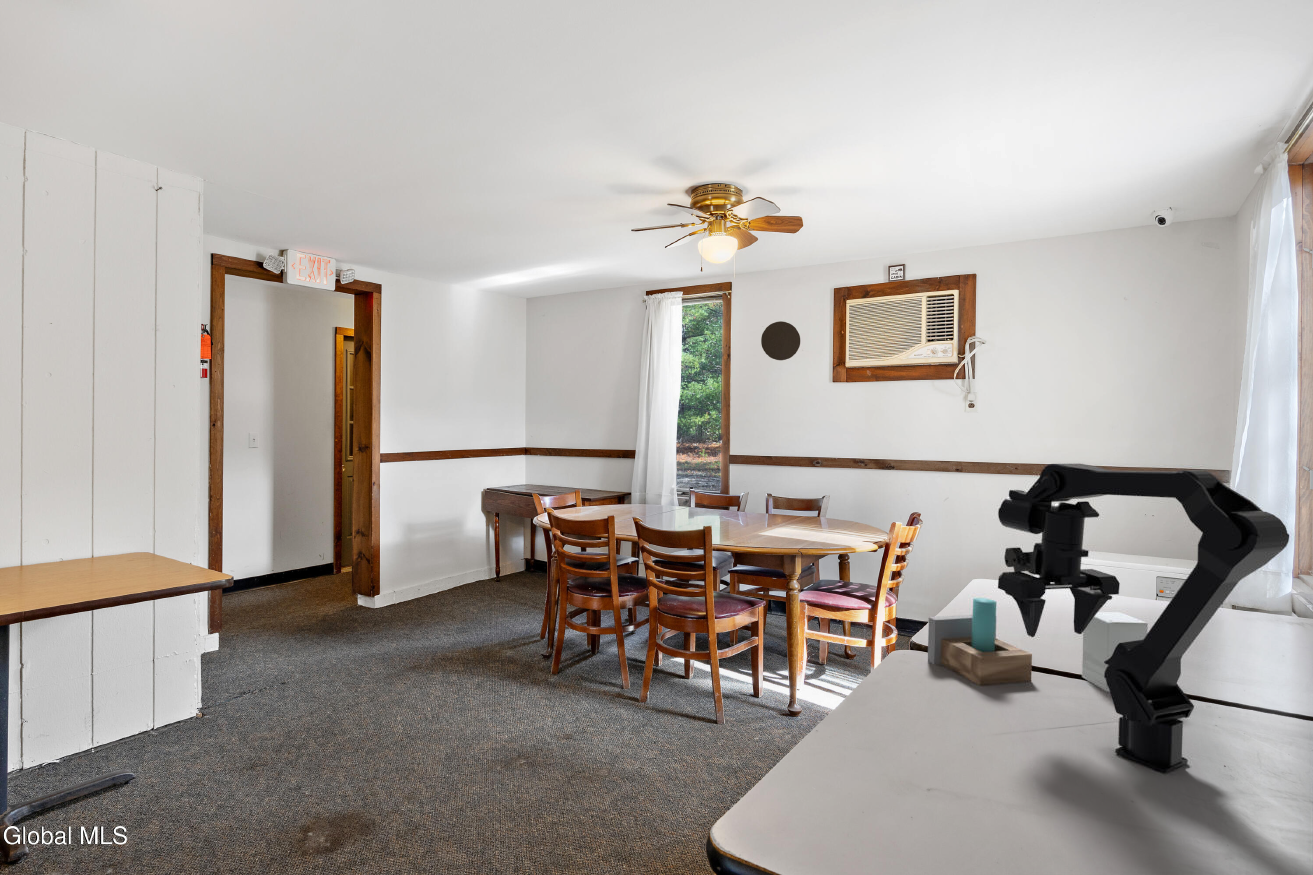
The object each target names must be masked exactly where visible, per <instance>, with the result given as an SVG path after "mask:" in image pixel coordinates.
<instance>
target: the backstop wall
mask: <svg viewBox="0 0 1313 875" xmlns="http://www.w3.org/2000/svg"><path fill="white" fill-rule="evenodd" d="M972 616H973V614H963V615H962V614H959V615H947V616H946V615H945V616H944V615H943V616H929V617H928V633H927V634H928V635H927V636H928V637H927V638H928V639H927V641H928V643H927V662H928V663H930V664H932V665H933V666H937V665H941V639H947V638H962V637H972ZM995 638H996V639H997V625H996V626H995Z"/></svg>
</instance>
